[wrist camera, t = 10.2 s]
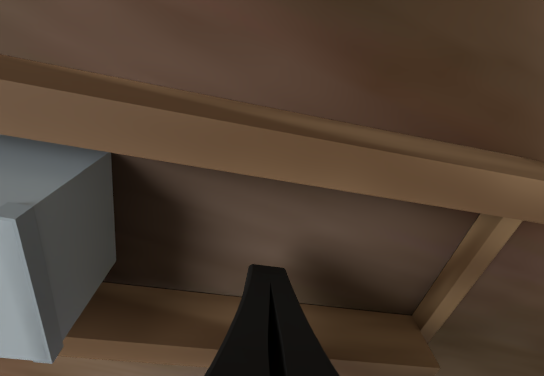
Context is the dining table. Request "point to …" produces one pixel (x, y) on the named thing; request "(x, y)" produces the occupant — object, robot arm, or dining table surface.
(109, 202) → the box
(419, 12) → the dining table surface
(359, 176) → the bay
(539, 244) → the dining table surface
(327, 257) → the dining table surface
